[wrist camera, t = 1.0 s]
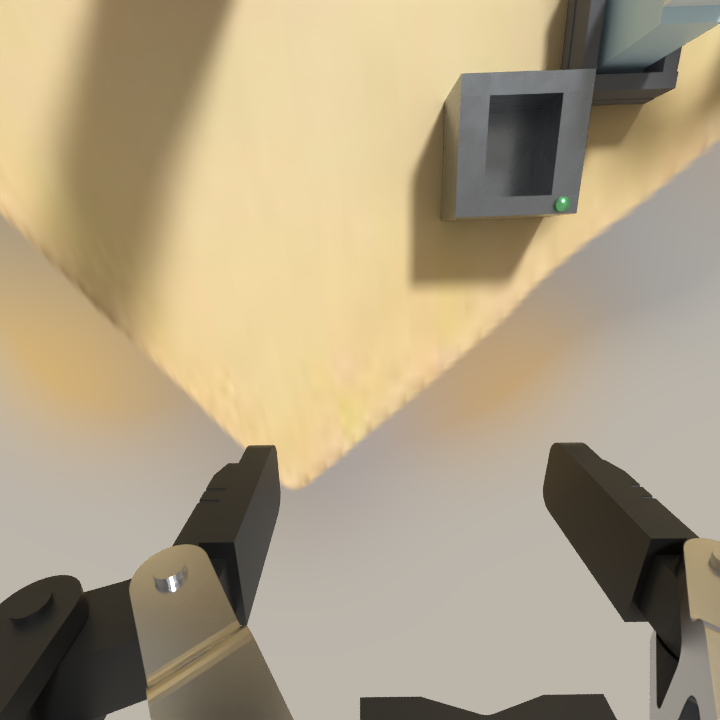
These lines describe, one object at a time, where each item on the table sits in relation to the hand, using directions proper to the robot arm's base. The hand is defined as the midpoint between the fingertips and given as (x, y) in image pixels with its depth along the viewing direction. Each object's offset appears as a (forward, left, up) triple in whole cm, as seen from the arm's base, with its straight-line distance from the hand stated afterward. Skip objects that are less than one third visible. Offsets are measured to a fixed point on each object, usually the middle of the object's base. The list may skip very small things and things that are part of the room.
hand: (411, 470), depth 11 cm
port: (-12, +10, -25) cm, 30 cm away
